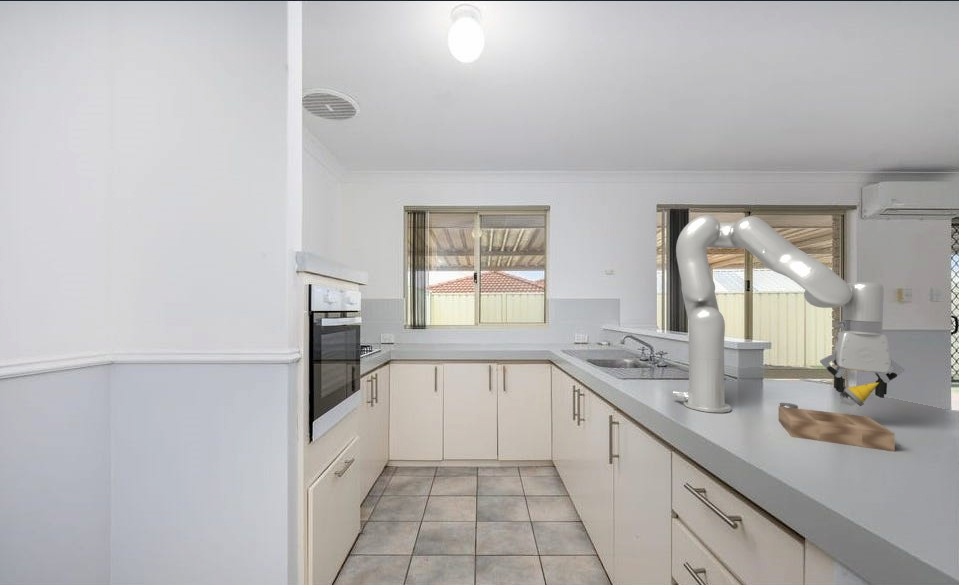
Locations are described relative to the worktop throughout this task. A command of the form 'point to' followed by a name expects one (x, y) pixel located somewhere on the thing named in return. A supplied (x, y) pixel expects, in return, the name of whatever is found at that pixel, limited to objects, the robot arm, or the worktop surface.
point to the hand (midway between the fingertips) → (859, 393)
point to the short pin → (788, 405)
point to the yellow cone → (857, 394)
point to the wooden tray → (836, 428)
